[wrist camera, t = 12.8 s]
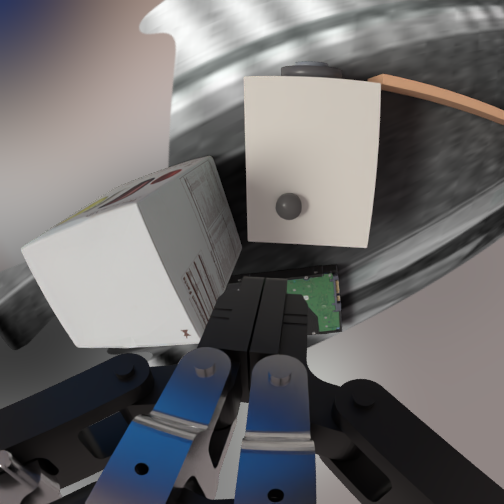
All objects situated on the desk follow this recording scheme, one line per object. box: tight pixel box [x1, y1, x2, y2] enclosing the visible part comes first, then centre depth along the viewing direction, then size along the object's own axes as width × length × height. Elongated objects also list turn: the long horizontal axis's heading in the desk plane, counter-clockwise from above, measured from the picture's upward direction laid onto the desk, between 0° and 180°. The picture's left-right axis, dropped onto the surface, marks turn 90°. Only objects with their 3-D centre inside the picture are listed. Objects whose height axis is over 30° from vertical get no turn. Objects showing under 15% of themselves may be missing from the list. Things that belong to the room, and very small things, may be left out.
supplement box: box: [21, 156, 242, 348], centre depth 33 cm, size 17×13×18 cm
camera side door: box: [368, 74, 504, 125], centre depth 24 cm, size 22×2×7 cm, turn 88°
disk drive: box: [227, 265, 342, 335], centre depth 43 cm, size 10×3×15 cm
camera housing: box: [244, 61, 381, 248], centre depth 29 cm, size 18×12×9 cm
